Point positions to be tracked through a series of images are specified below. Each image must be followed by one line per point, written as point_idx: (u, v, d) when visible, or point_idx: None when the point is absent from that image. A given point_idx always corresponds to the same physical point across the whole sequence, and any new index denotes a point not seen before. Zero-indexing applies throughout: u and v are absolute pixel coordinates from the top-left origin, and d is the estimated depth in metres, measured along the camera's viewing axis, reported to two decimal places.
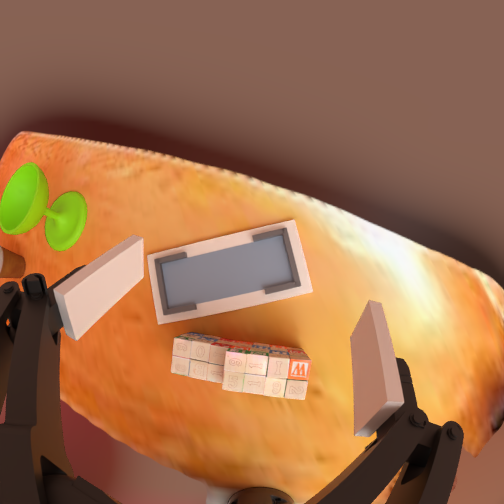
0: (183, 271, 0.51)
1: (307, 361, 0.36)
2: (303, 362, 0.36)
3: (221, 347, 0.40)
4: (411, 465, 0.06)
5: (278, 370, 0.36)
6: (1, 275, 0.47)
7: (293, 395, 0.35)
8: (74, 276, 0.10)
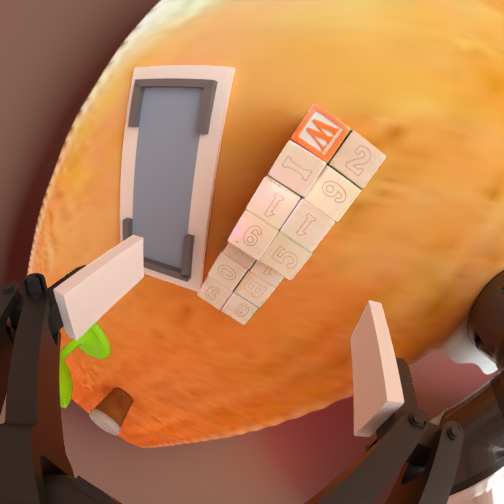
0: (146, 231, 0.36)
1: (311, 111, 0.16)
2: (308, 119, 0.17)
3: None
4: (411, 466, 0.06)
5: (301, 169, 0.18)
6: (119, 421, 0.53)
7: (367, 170, 0.17)
8: (74, 276, 0.10)
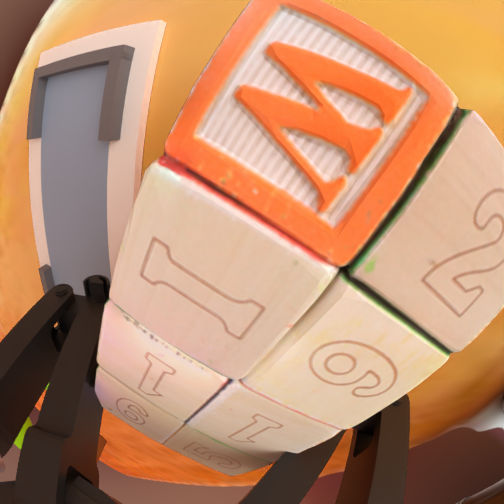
0: None
1: (258, 9, 0.02)
2: (244, 45, 0.03)
3: None
4: (360, 436, 0.08)
5: (218, 298, 0.04)
6: None
7: (493, 294, 0.03)
8: None
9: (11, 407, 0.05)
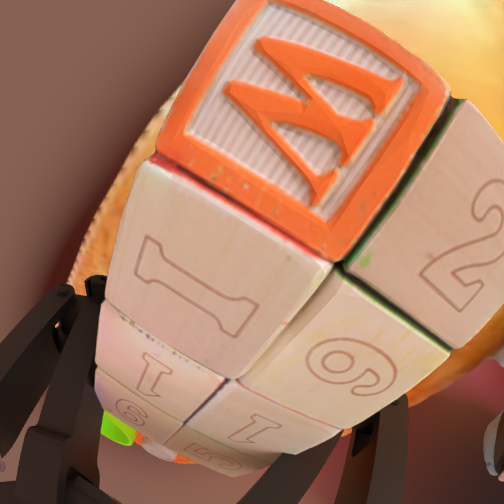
0: None
1: (246, 5, 0.02)
2: (233, 41, 0.03)
3: None
4: (359, 436, 0.08)
5: (212, 296, 0.04)
6: None
7: (493, 288, 0.03)
8: None
9: (12, 407, 0.05)
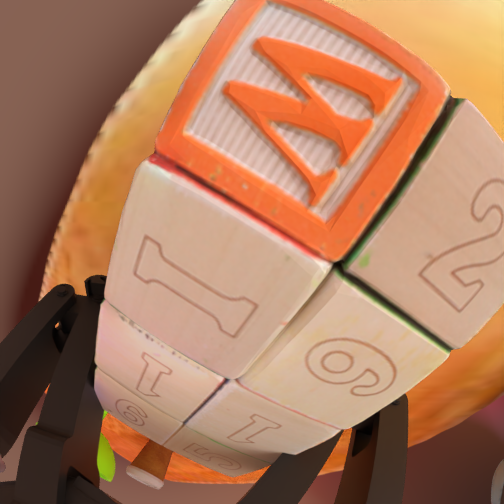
0: None
1: (245, 5, 0.02)
2: (232, 41, 0.03)
3: None
4: (358, 436, 0.08)
5: (210, 297, 0.04)
6: (162, 476, 0.43)
7: (493, 288, 0.03)
8: None
9: (12, 407, 0.05)
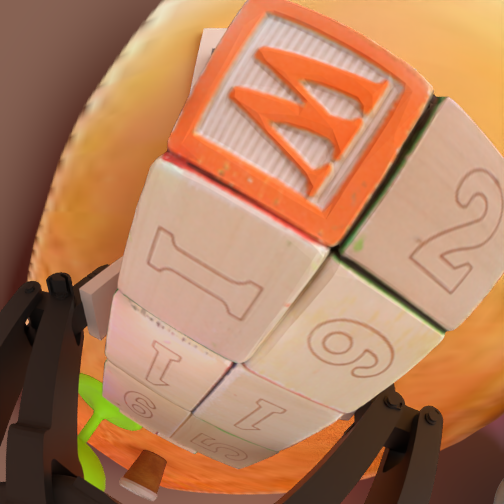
0: None
1: (247, 17, 0.03)
2: (236, 51, 0.03)
3: None
4: (391, 453, 0.07)
5: (220, 281, 0.04)
6: (156, 488, 0.39)
7: (482, 271, 0.03)
8: (99, 275, 0.11)
9: None
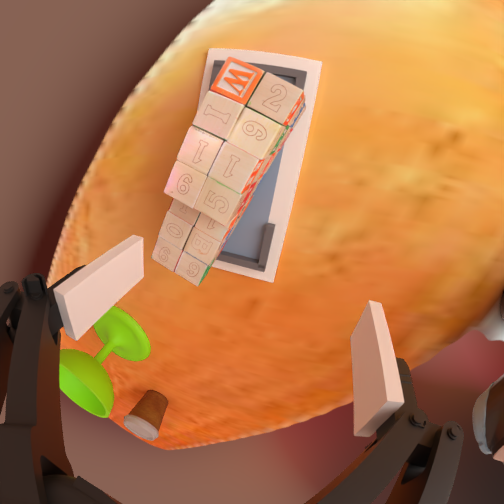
0: None
1: (227, 62, 0.16)
2: (225, 69, 0.17)
3: None
4: (411, 466, 0.06)
5: (221, 114, 0.18)
6: (157, 425, 0.53)
7: (284, 106, 0.17)
8: (74, 276, 0.10)
9: None
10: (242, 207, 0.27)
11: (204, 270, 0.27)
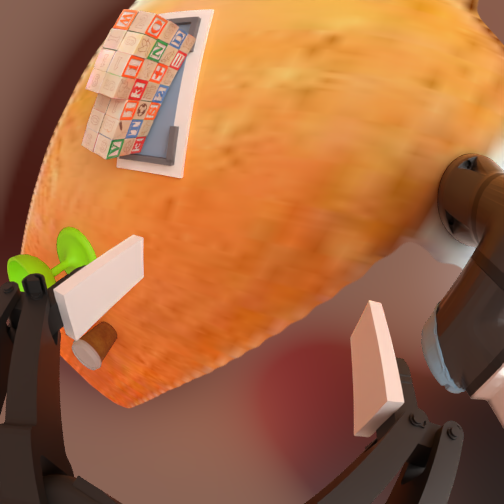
0: None
1: (122, 12, 0.21)
2: (120, 16, 0.21)
3: (97, 97, 0.29)
4: (411, 466, 0.06)
5: (115, 38, 0.22)
6: (101, 352, 0.57)
7: (145, 24, 0.21)
8: (74, 276, 0.10)
9: None
10: (140, 101, 0.31)
11: (109, 144, 0.32)
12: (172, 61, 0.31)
